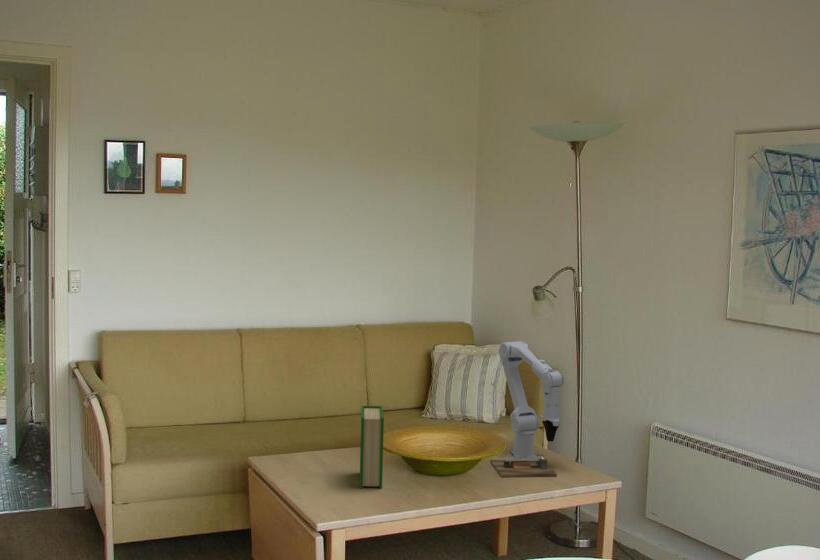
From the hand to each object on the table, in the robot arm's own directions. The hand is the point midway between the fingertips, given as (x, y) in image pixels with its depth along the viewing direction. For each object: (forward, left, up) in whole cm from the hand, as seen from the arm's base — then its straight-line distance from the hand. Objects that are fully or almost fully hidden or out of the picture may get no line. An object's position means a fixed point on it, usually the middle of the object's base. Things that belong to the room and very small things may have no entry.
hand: (550, 440), depth 329 cm
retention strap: (+4, -11, -6) cm, 13 cm away
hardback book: (+15, -67, -10) cm, 69 cm away
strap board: (+4, -11, -9) cm, 15 cm away
